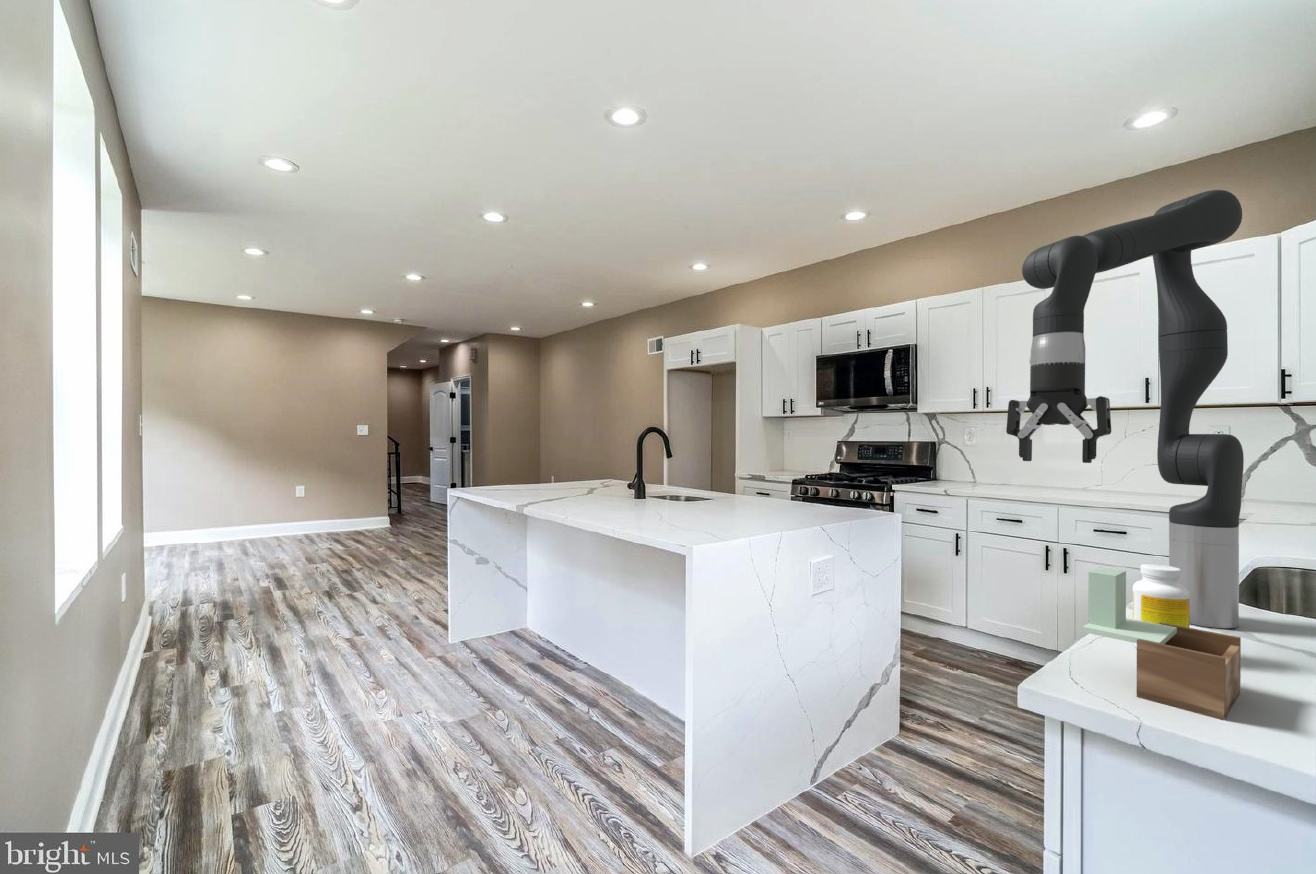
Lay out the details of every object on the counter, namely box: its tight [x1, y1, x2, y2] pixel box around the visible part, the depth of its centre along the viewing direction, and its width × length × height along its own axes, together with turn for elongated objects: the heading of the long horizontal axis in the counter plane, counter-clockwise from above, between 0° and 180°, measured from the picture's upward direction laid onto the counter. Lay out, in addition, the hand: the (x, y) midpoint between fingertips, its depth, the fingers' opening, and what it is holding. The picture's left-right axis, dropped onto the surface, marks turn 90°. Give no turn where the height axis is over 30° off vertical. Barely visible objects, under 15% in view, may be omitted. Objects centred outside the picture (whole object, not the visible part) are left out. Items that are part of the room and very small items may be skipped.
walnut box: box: [1136, 622, 1242, 721], centre depth 76 cm, size 12×8×7 cm, turn 129°
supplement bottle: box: [1132, 563, 1191, 649], centre depth 91 cm, size 7×7×13 cm
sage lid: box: [1082, 566, 1177, 644], centre depth 80 cm, size 10×8×8 cm
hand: (1055, 461), depth 98 cm, fingers open, 8 cm apart
